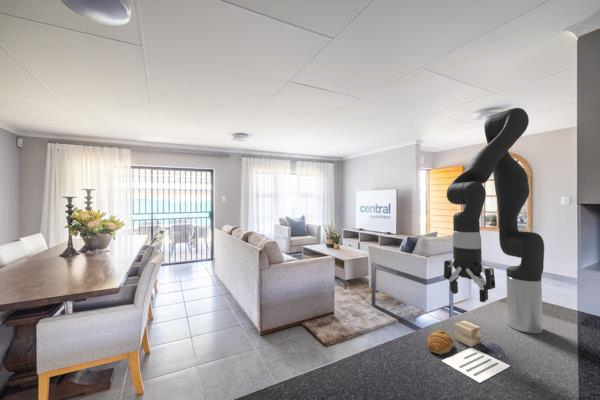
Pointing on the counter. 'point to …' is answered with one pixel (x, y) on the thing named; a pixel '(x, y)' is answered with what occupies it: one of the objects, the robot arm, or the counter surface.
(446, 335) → the pastry
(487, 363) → the letter
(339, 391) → the counter surface
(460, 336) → the maple cube
